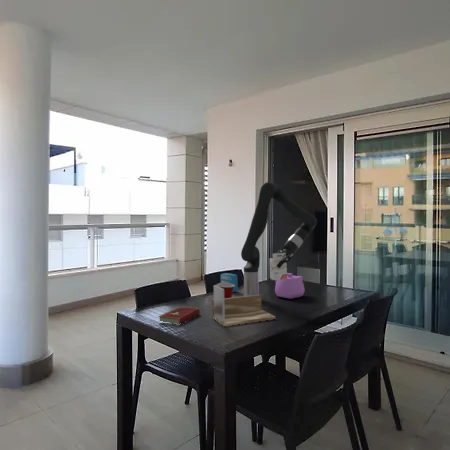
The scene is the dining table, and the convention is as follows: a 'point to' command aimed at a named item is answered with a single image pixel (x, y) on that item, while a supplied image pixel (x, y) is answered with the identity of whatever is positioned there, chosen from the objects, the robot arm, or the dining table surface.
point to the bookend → (219, 303)
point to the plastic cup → (226, 289)
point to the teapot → (290, 287)
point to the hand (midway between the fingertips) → (275, 266)
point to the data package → (230, 280)
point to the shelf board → (243, 310)
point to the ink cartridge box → (274, 270)
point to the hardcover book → (180, 315)
